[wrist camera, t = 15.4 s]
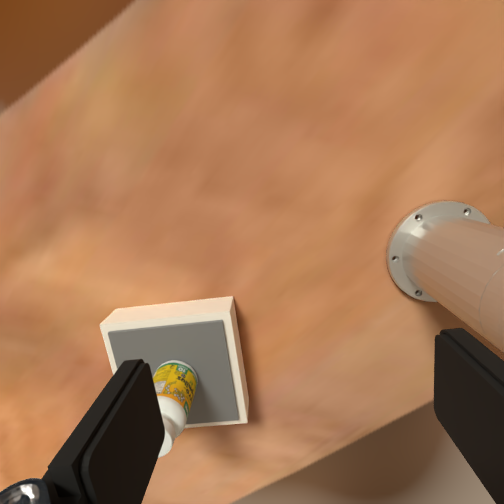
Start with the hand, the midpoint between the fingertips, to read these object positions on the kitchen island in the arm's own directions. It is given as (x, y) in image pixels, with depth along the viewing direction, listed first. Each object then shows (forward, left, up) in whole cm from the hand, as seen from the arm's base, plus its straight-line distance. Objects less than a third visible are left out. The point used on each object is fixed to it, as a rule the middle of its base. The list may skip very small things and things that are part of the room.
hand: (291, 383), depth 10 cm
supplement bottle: (+14, +17, -26) cm, 34 cm away
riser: (+14, +17, -30) cm, 37 cm away
